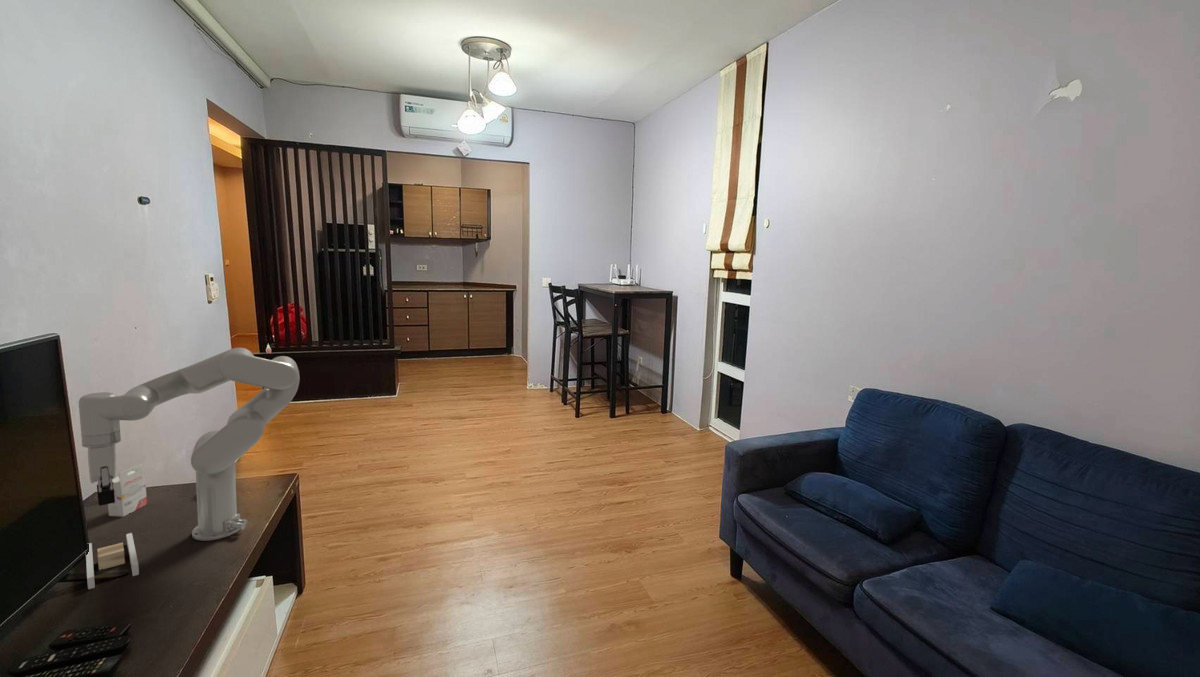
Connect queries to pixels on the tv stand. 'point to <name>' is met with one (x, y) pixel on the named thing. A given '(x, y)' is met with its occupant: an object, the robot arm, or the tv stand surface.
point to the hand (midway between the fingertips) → (106, 499)
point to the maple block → (111, 556)
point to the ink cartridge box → (128, 492)
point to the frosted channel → (131, 555)
